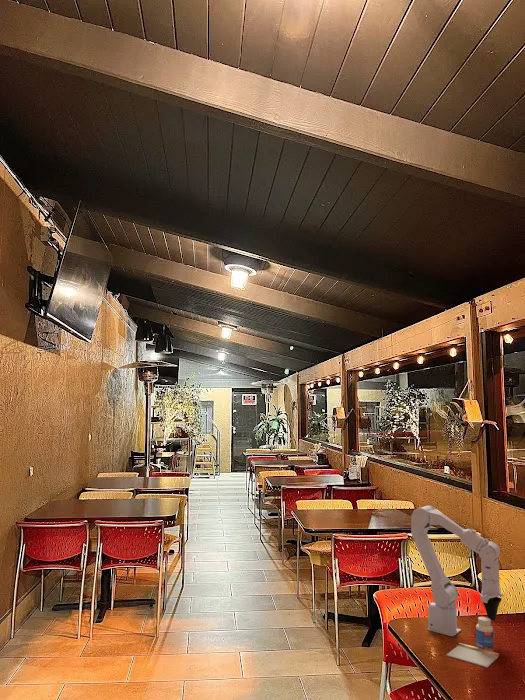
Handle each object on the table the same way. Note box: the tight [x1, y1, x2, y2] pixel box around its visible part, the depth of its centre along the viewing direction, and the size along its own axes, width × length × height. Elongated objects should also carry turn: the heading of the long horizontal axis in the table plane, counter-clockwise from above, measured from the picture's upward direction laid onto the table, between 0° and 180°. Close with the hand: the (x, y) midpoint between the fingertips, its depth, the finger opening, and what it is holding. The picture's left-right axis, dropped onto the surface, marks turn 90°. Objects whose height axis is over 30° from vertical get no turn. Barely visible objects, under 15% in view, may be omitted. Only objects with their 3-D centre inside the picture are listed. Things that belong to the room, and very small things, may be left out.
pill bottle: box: [475, 616, 494, 652], centre depth 188 cm, size 6×5×10 cm
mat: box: [446, 644, 499, 669], centre depth 182 cm, size 13×10×1 cm
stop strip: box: [457, 642, 500, 658], centre depth 186 cm, size 13×1×1 cm, turn 49°
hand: (491, 619), depth 194 cm, fingers closed
